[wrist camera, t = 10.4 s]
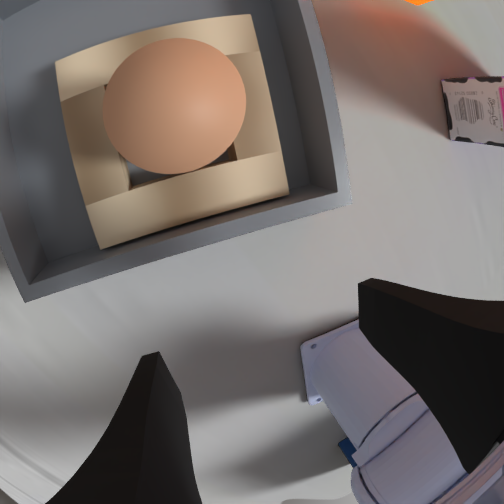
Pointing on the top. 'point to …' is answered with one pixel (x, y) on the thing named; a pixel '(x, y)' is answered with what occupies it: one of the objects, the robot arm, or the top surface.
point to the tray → (64, 175)
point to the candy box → (475, 109)
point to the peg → (174, 106)
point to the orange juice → (418, 1)
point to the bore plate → (175, 185)
